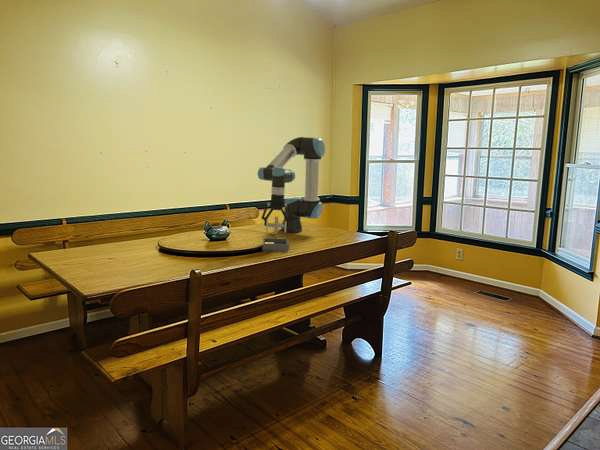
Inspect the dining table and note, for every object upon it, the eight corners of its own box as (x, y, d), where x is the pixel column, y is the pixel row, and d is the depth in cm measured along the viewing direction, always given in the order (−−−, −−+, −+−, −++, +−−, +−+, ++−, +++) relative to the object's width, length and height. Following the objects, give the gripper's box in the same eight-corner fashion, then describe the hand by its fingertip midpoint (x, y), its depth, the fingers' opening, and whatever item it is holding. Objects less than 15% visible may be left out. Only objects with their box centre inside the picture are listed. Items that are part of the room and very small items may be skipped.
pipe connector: (285, 232, 266) (286, 216, 264) (283, 236, 256) (283, 219, 254) (268, 231, 267) (269, 214, 265) (265, 234, 257) (266, 217, 255)
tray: (262, 244, 270) (262, 237, 269) (287, 245, 271) (287, 238, 271) (262, 250, 255) (262, 244, 255) (288, 251, 257) (288, 244, 256)
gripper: (258, 194, 252) (256, 232, 257) (297, 195, 254) (295, 233, 259) (258, 192, 259) (256, 229, 264) (296, 194, 262) (294, 231, 266)
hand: (275, 231), depth 261 cm, fingers closed on pipe connector, 10 cm apart
